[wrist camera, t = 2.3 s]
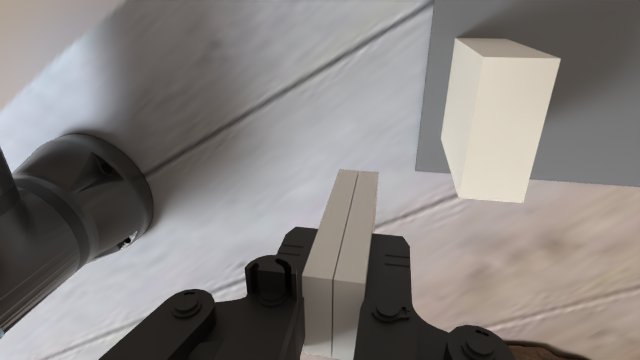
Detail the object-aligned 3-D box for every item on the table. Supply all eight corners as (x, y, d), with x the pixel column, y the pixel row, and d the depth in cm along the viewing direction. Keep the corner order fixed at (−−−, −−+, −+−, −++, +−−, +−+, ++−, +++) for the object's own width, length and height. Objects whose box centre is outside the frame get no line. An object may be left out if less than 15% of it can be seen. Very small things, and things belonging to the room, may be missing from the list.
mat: (415, 169, 38) (415, 170, 38) (435, -9, 31) (436, -9, 31) (663, 187, 34) (666, 188, 34) (749, -11, 27) (753, -11, 27)
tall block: (440, 138, 36) (458, 197, 25) (455, 38, 32) (483, 57, 21) (485, 141, 35) (522, 203, 24) (505, 38, 31) (560, 58, 21)
